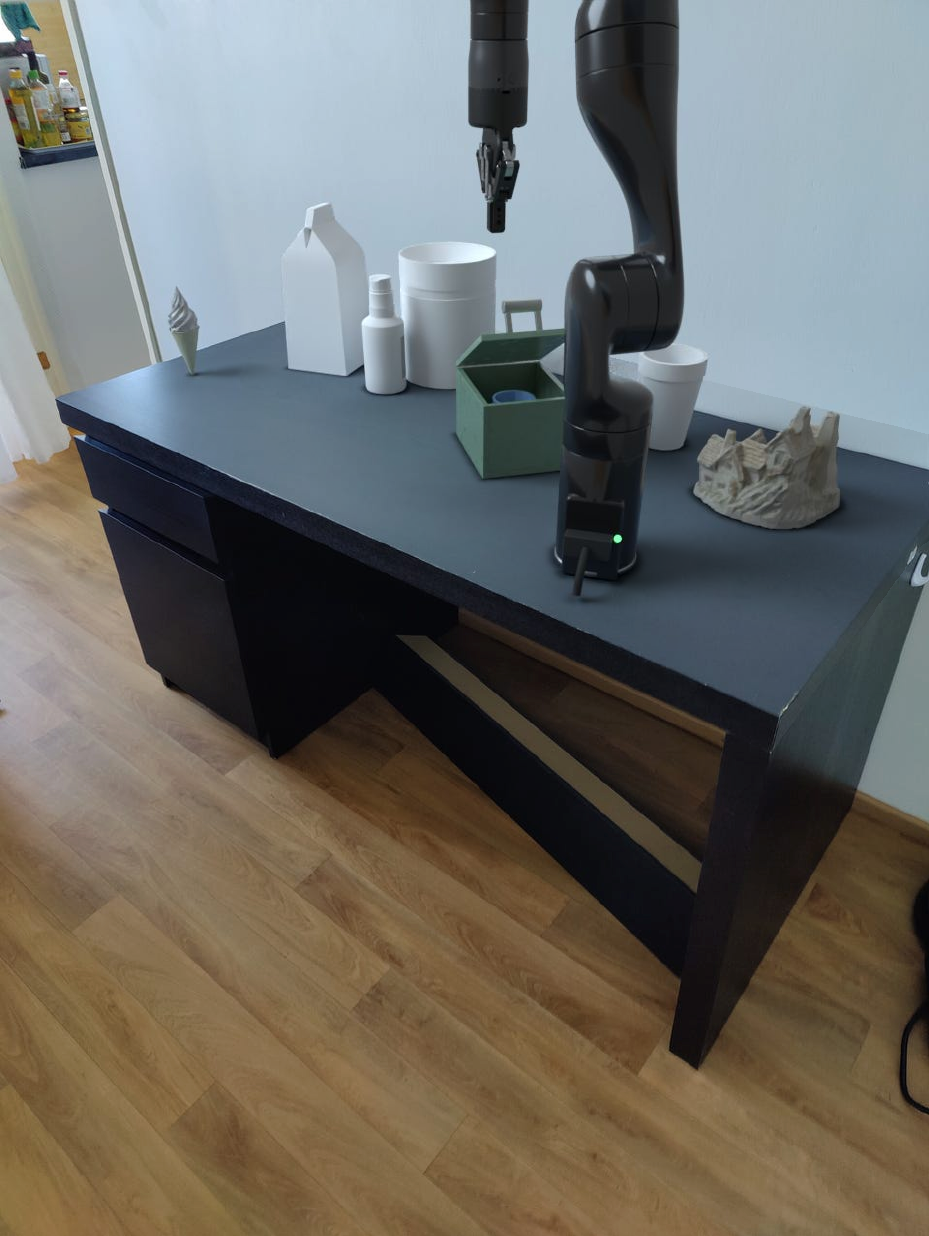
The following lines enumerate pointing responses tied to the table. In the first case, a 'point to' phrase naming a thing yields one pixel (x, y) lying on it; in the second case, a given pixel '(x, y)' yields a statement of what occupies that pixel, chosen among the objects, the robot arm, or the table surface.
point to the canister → (444, 306)
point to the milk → (324, 296)
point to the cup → (512, 396)
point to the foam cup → (672, 391)
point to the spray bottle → (383, 340)
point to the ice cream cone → (184, 329)
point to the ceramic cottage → (773, 474)
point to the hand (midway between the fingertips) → (496, 231)
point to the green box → (510, 419)
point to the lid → (514, 339)
